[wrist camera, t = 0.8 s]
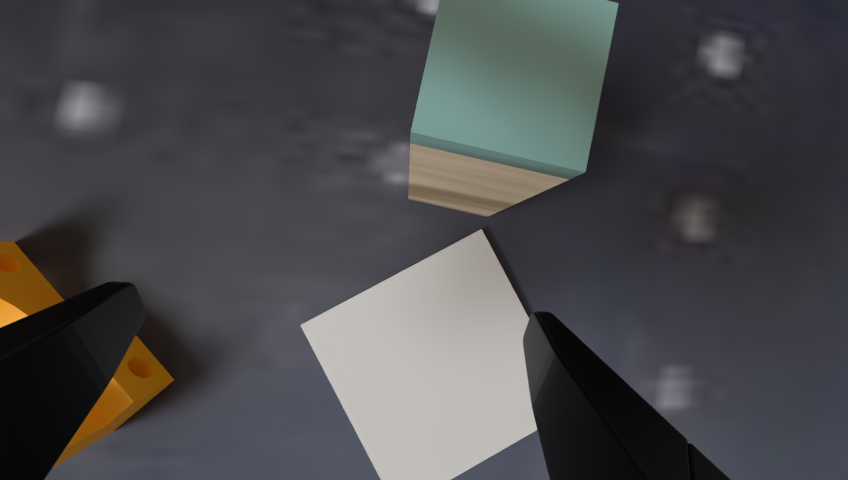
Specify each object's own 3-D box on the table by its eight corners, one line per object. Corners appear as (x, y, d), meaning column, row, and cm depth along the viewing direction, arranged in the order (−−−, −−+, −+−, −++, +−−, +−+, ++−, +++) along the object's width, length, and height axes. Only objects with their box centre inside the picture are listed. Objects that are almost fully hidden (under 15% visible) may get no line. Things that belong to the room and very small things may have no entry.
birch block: (487, 216, 22) (585, 172, 10) (408, 198, 22) (410, 131, 10) (503, 138, 22) (618, 3, 10) (425, 120, 22) (448, -40, 10)
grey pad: (572, 403, 22) (575, 407, 21) (397, 504, 21) (397, 510, 20) (479, 229, 22) (481, 229, 21) (302, 323, 21) (300, 325, 21)
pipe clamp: (176, 379, 21) (72, 435, 14) (115, 429, 21) (-18, 510, 14) (42, 222, 21) (-122, 208, 14) (-20, 271, 21) (-216, 279, 14)
